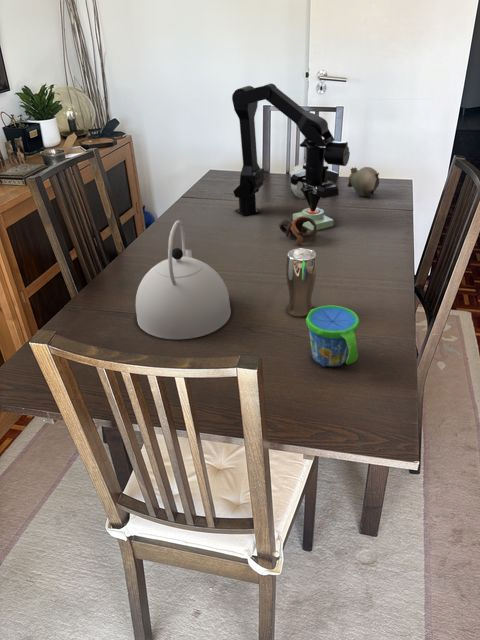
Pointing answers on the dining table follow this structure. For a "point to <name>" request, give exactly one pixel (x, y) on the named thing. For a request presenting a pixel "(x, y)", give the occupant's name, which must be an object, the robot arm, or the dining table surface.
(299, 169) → the device
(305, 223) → the box
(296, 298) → the beer glass
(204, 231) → the dining table surface
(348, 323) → the snack cup
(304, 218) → the pottery mug
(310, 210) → the call button
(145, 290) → the kettle
